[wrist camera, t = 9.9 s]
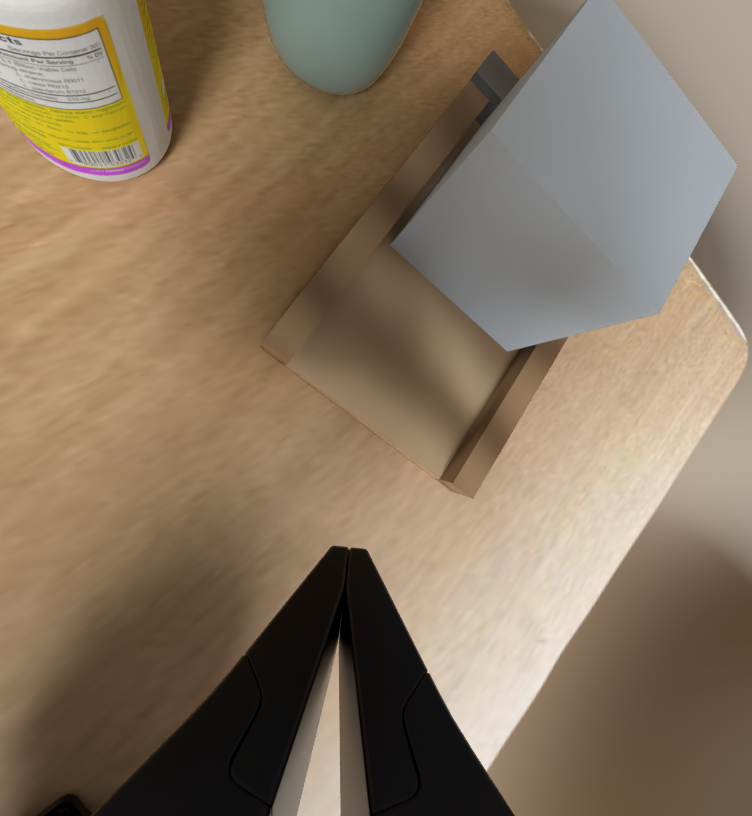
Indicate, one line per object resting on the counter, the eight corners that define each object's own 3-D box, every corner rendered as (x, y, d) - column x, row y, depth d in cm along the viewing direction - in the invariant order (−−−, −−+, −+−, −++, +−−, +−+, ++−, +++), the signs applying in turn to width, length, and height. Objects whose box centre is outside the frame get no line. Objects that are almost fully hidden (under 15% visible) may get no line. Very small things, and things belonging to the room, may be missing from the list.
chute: (452, 491, 26) (479, 500, 23) (260, 347, 22) (264, 336, 19) (603, 240, 30) (641, 222, 28) (466, 89, 27) (493, 50, 24)
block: (507, 351, 26) (659, 313, 17) (389, 245, 24) (490, 130, 14) (570, 250, 28) (737, 165, 19) (467, 142, 26) (601, -18, 16)
